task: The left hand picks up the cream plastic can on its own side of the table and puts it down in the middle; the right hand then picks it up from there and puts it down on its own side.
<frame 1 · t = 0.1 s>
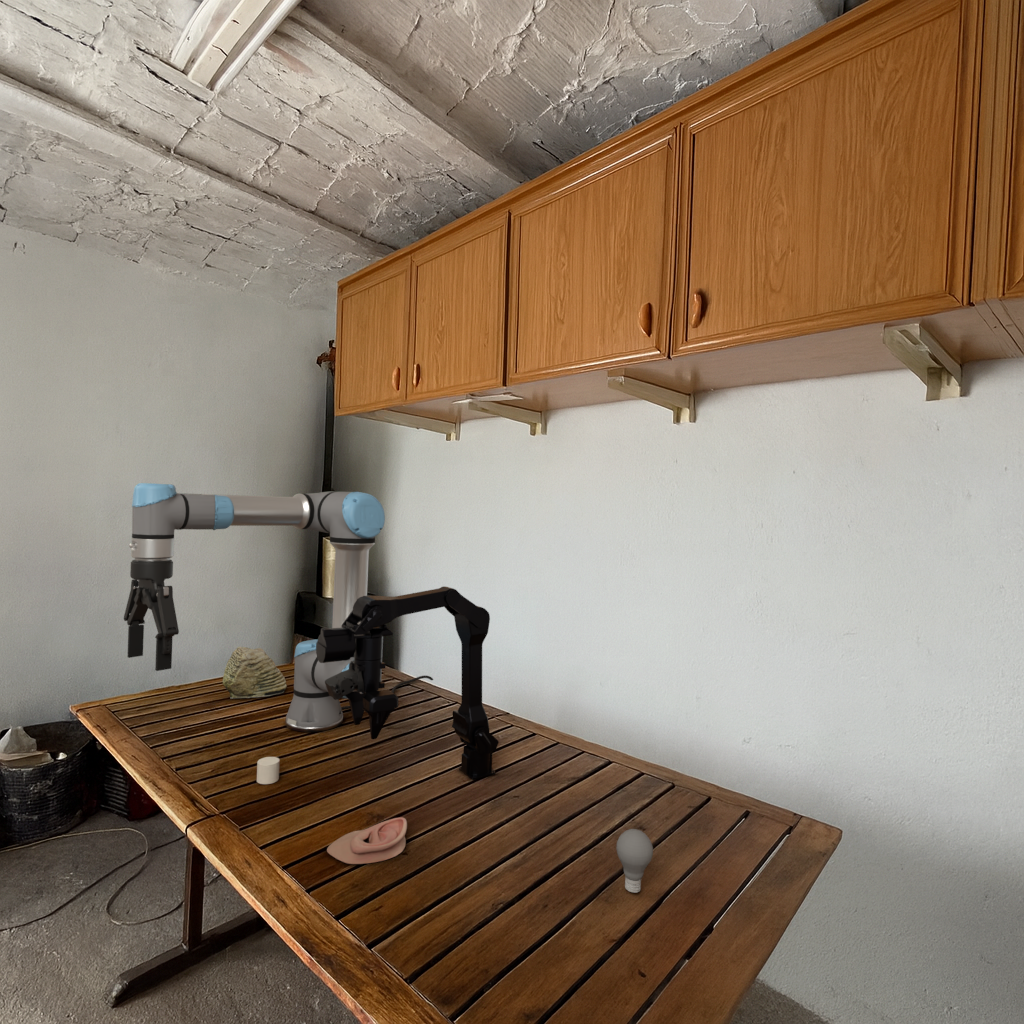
left hand: (148, 662, 129), 28 cm above the table, tool pointing down, fingers open, 13 cm apart
right hand: (365, 731, 133), 15 cm above the table, tool pointing down, fingers open, 9 cm apart
fossil: (254, 694, 198), on the table
light bulb: (632, 891, 106), on the table
anatomical model: (367, 848, 115), on the table
can: (267, 779, 141), on the table
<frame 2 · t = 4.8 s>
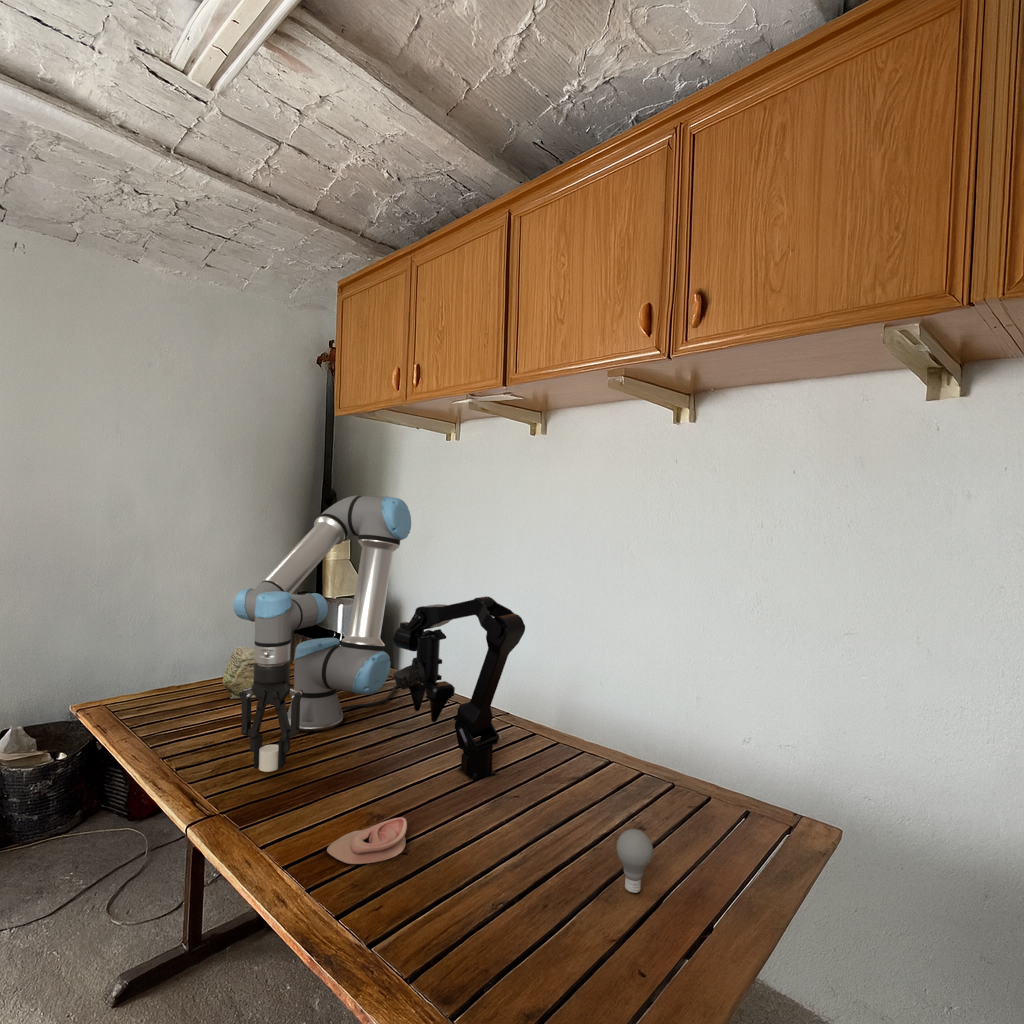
left hand: (269, 765, 141), 3 cm above the table, tool pointing down, fingers closed on can, 5 cm apart
right hand: (425, 716, 160), 9 cm above the table, tool pointing down, fingers open, 9 cm apart
can: (269, 767, 141), point 3 cm above the table, touching left hand
everything else where it was.
when the left hand's fingers open (1 cm above the table, at t = 9.6 s): can stays where it is, on the table.
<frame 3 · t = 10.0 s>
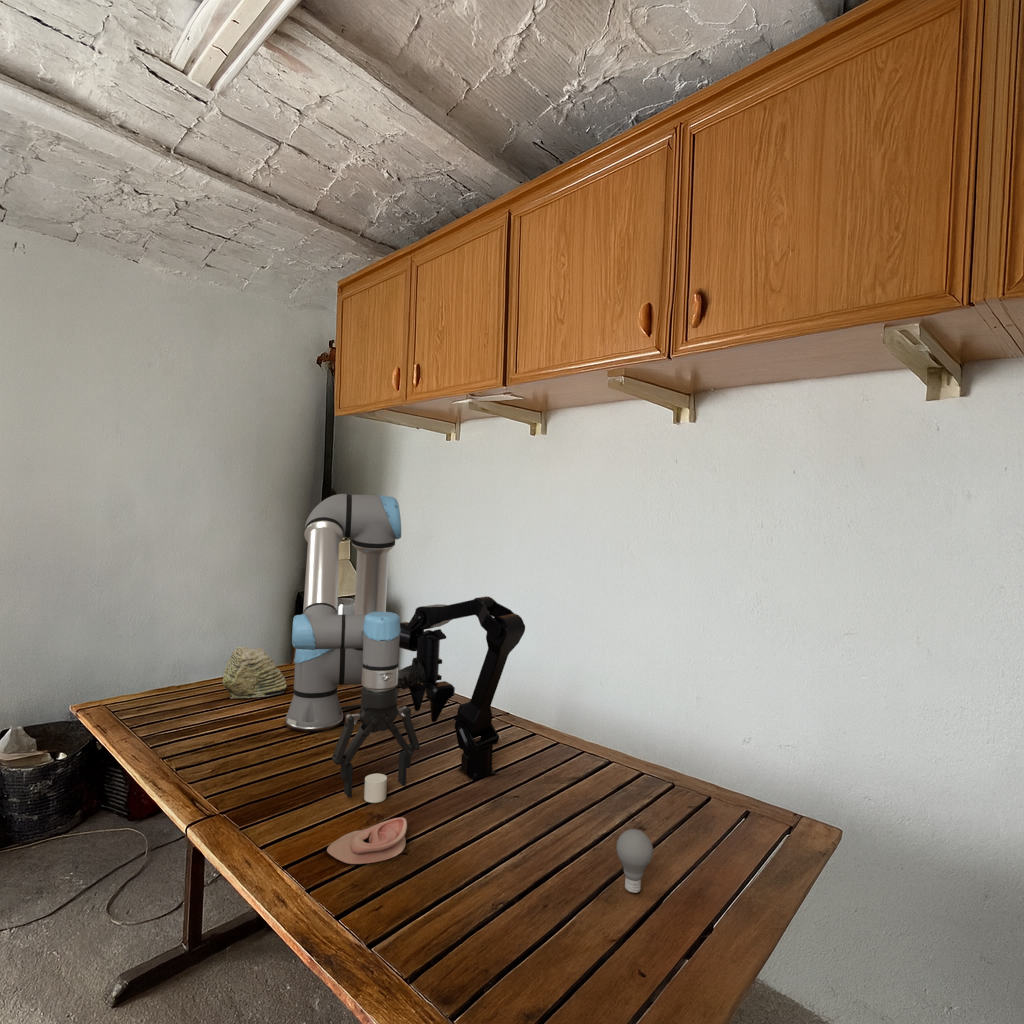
left hand: (375, 789, 134), 2 cm above the table, tool pointing down, fingers open, 11 cm apart
right hand: (425, 716, 160), 9 cm above the table, tool pointing down, fingers open, 9 cm apart
can: (375, 797, 134), on the table
everything else where it was.
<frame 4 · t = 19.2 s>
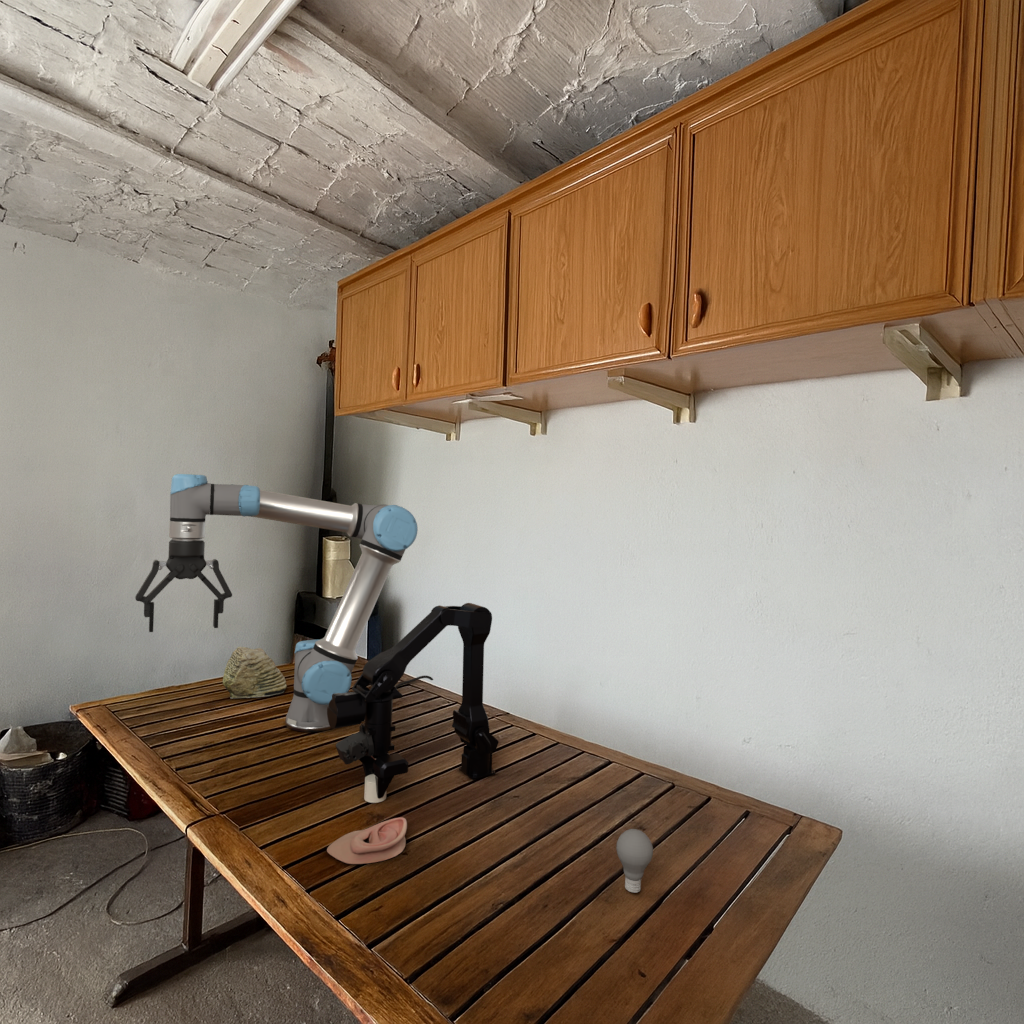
left hand: (184, 629, 150), 30 cm above the table, tool pointing down, fingers open, 13 cm apart
right hand: (375, 792, 134), 1 cm above the table, tool pointing down, fingers closed on can, 4 cm apart
can: (375, 797, 134), on the table, touching right hand
everything else where it was.
when the right hand's fingers open (2 cm above the table, at t = 26.7 s): can drops 1 cm, on the table.
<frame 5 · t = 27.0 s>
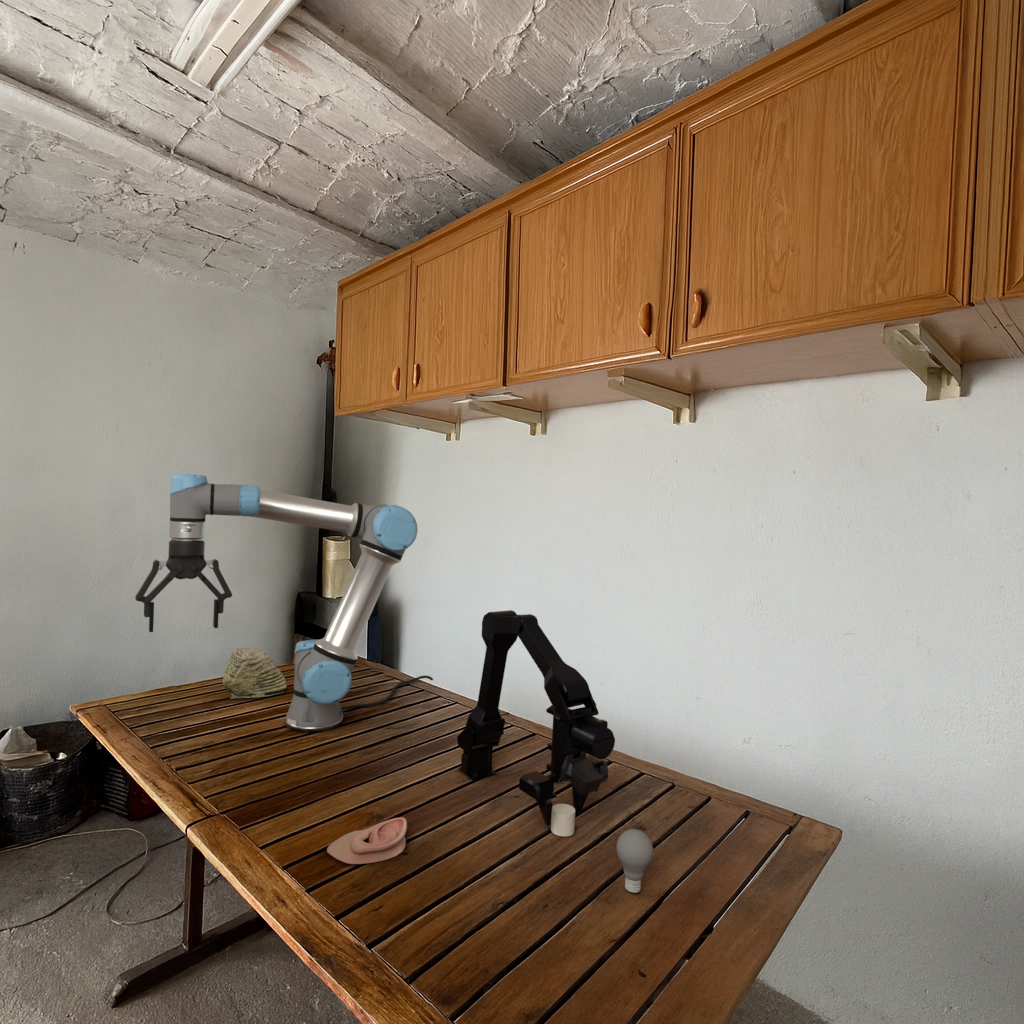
left hand: (184, 629, 150), 30 cm above the table, tool pointing down, fingers open, 13 cm apart
right hand: (562, 819, 124), 2 cm above the table, tool pointing down, fingers open, 7 cm apart
can: (562, 830, 124), on the table
everything else where it was.
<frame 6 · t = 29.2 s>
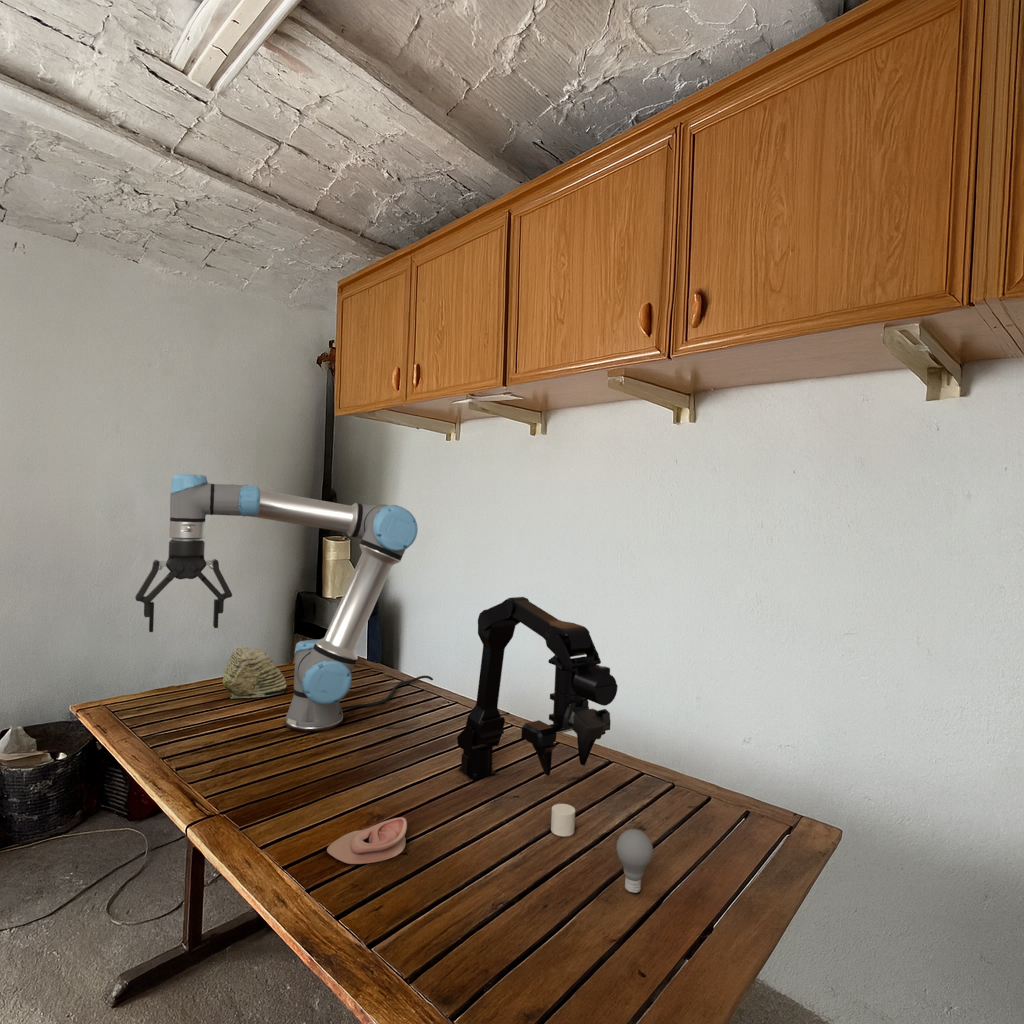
left hand: (184, 629, 150), 30 cm above the table, tool pointing down, fingers open, 13 cm apart
right hand: (565, 769, 124), 12 cm above the table, tool pointing down, fingers open, 9 cm apart
nothing on the table moved.
at the end: can inside the target area (0.0 cm from its centre), on the table; can tilted 0°; the two hands never held the can at the same time; the left hand is holding nothing; the right hand is holding nothing; can at rest at the end (0.0 cm/s) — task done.
